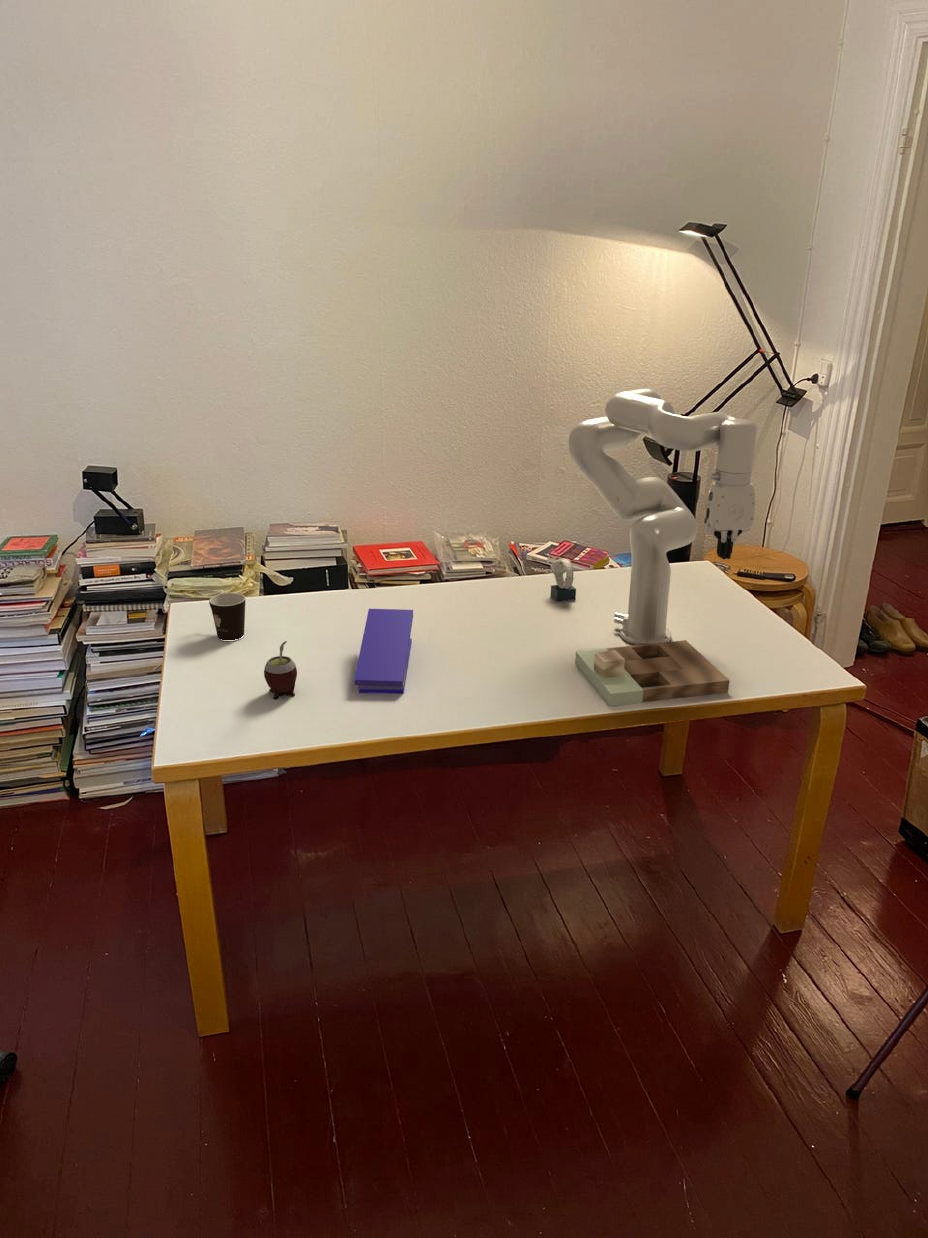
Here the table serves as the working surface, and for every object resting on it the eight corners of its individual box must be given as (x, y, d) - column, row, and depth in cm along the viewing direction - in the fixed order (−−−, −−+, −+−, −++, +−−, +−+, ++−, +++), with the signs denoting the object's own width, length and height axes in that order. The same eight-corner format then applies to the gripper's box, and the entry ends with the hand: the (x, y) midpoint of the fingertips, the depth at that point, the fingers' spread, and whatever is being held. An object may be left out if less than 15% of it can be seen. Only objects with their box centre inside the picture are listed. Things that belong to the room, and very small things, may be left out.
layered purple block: (414, 643, 246) (413, 606, 242) (406, 696, 220) (405, 655, 216) (367, 642, 246) (366, 605, 242) (354, 695, 220) (352, 655, 216)
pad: (609, 706, 216) (610, 693, 214) (575, 662, 235) (575, 651, 234) (642, 702, 217) (643, 690, 216) (605, 659, 237) (605, 648, 236)
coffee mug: (251, 640, 246) (248, 603, 242) (216, 645, 243) (212, 607, 239) (243, 623, 256) (239, 586, 252) (208, 627, 253) (205, 591, 249)
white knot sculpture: (565, 591, 277) (567, 554, 273) (578, 601, 270) (580, 563, 266) (547, 593, 276) (548, 556, 271) (559, 604, 269) (561, 565, 264)
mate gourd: (276, 684, 224) (271, 622, 218) (307, 690, 222) (303, 628, 216) (258, 698, 218) (253, 635, 212) (290, 705, 215) (285, 641, 209)
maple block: (602, 678, 221) (603, 662, 220) (593, 668, 226) (594, 652, 224) (623, 675, 223) (624, 659, 221) (613, 666, 227) (615, 650, 225)
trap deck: (642, 702, 217) (643, 690, 216) (605, 659, 237) (605, 648, 236) (728, 692, 222) (729, 680, 221) (684, 651, 242) (685, 640, 240)
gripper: (709, 484, 211) (700, 565, 218) (772, 479, 215) (762, 560, 222) (693, 474, 218) (685, 554, 225) (755, 471, 221) (745, 549, 228)
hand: (723, 557), depth 223 cm, fingers closed
